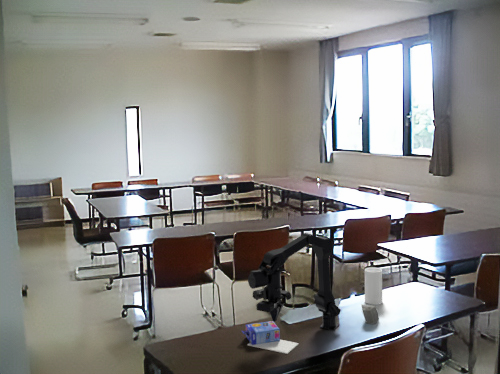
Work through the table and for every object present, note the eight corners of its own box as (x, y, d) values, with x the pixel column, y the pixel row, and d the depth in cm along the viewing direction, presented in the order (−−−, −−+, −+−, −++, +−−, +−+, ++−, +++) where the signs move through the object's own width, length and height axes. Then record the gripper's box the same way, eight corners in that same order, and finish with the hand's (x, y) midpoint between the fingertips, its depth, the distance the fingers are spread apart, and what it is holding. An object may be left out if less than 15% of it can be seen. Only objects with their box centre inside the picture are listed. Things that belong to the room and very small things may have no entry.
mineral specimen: (358, 317, 237) (362, 300, 236) (378, 322, 235) (381, 305, 234) (357, 322, 230) (361, 305, 229) (377, 328, 228) (381, 310, 227)
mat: (259, 336, 222) (259, 335, 222) (298, 344, 213) (298, 343, 213) (247, 345, 214) (247, 344, 214) (287, 354, 205) (287, 353, 205)
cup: (361, 300, 261) (361, 268, 259) (376, 297, 263) (376, 266, 261) (370, 305, 253) (370, 272, 251) (385, 303, 255) (385, 270, 253)
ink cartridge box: (280, 328, 215) (245, 334, 211) (280, 341, 216) (246, 347, 212) (272, 319, 224) (239, 325, 221) (273, 332, 225) (240, 337, 221)
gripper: (267, 275, 224) (268, 310, 226) (244, 287, 208) (245, 325, 210) (291, 278, 219) (292, 314, 220) (268, 291, 203) (270, 330, 205)
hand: (274, 321), depth 214 cm, fingers closed
